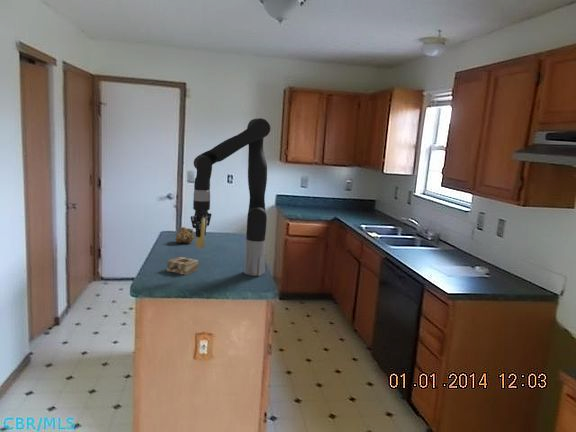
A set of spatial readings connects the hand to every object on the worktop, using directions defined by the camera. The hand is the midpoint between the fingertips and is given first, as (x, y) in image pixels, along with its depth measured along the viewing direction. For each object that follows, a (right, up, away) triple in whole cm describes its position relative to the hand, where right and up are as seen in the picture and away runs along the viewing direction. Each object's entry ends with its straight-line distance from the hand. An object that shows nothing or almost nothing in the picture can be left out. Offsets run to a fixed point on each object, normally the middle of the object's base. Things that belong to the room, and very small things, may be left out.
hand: (200, 236), depth 207 cm
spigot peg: (0, -5, +1) cm, 5 cm away
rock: (-23, -8, +65) cm, 69 cm away
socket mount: (-12, -18, +9) cm, 23 cm away
